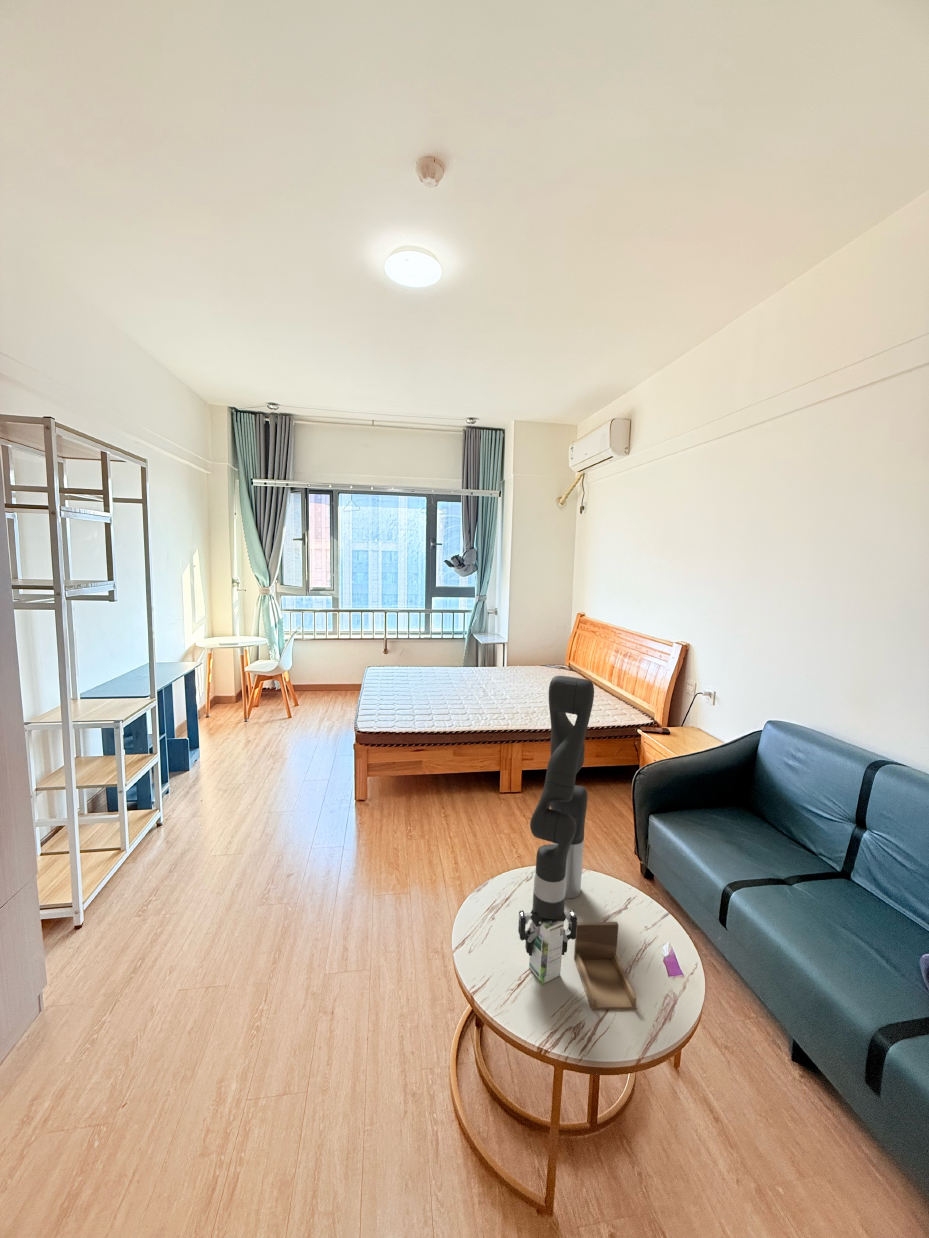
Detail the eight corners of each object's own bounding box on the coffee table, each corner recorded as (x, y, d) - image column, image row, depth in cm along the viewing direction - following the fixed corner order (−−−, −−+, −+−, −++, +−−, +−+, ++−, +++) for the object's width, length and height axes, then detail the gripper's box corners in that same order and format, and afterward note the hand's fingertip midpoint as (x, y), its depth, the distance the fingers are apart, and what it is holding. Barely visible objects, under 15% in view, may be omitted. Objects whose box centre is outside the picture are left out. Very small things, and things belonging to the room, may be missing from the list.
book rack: (573, 958, 123) (576, 922, 122) (614, 958, 124) (616, 921, 123) (591, 1009, 109) (594, 968, 108) (636, 1008, 110) (639, 967, 109)
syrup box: (527, 967, 120) (530, 913, 119) (546, 958, 123) (549, 905, 122) (542, 984, 115) (545, 929, 114) (561, 975, 118) (565, 920, 117)
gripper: (574, 880, 121) (570, 940, 123) (517, 880, 120) (514, 941, 122) (583, 901, 113) (579, 964, 115) (522, 901, 113) (519, 966, 115)
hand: (545, 952), depth 119 cm, fingers closed on syrup box, 7 cm apart
